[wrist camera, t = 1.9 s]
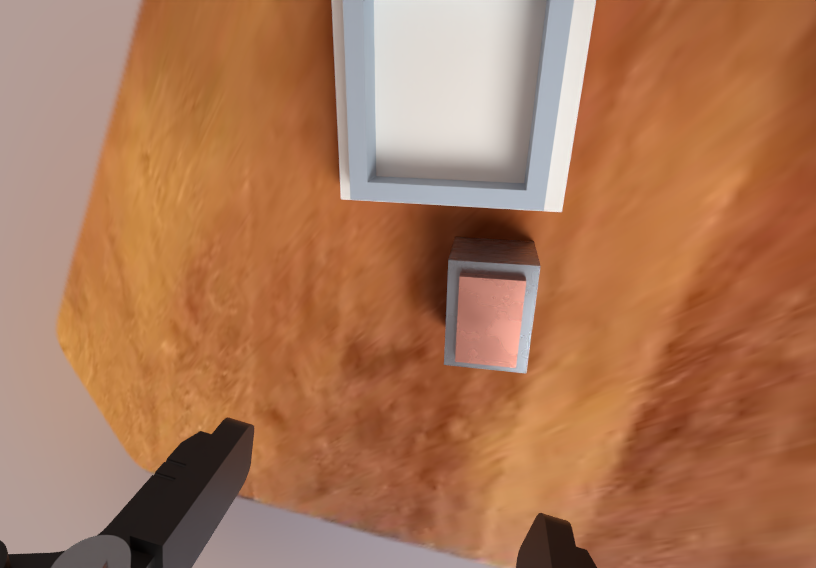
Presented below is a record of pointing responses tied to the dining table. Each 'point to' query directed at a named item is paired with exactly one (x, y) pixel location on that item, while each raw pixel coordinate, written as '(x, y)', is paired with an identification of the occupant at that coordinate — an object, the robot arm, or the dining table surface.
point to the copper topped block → (490, 303)
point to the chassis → (459, 99)
